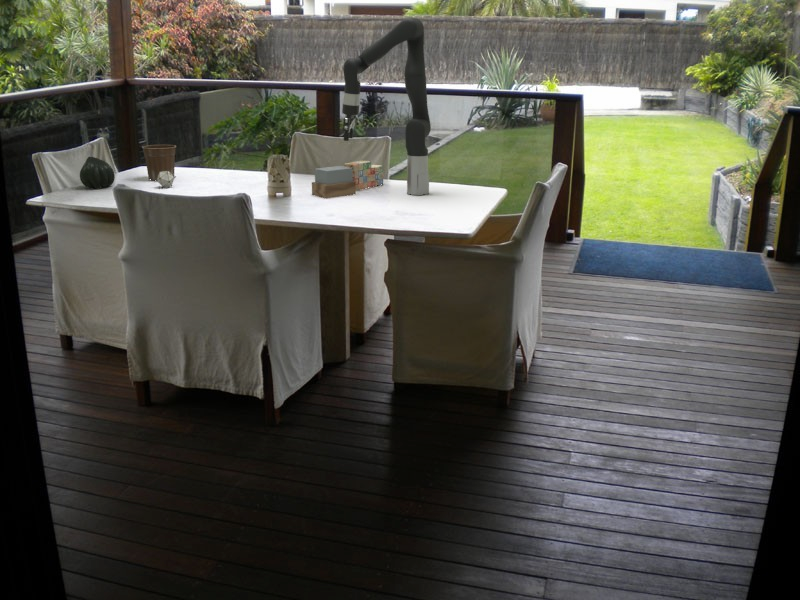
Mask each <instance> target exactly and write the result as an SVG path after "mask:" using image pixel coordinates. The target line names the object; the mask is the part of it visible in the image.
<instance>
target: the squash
mask: <svg viewBox="0 0 800 600" xmlns="http://www.w3.org/2000/svg"><path fill="white" fill-rule="evenodd" d="M115 175H116V174H115V172H114V169H113V168H112V166H111V165H110V164H109V163H108V162H106V161H105V160H103V159H100V158H97V157H94V156H88V157H87V158H86V159H85V162H84V164H83V165H82V167H81V169H80V171H79V180H80V182H81V183H82V184H83V186H85V187H86V188H88V187H89V189H91V188H94V189H97V190H98V188H99V189H101V188H103V187H104V188H107V187H109V188H110V186H112V185H113V184H114V182H115Z"/></svg>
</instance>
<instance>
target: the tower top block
mask: <svg viewBox="0 0 800 600" xmlns="http://www.w3.org/2000/svg"><path fill="white" fill-rule="evenodd" d="M314 182H316V183H321V184H325V185H330V184H338V183H346V182H353V174H352V168H349V167H344V165H335V166H328V167H320V168H317V167H316V168H314Z"/></svg>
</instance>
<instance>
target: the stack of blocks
mask: <svg viewBox="0 0 800 600" xmlns="http://www.w3.org/2000/svg"><path fill="white" fill-rule="evenodd" d="M343 164H344V165H343V166H344V167H349V168H352V174H353V181H354V182H356V190H358V191H360V190H359V189H363V190H365V189H364V188H367V189H369V188H368V187H371V188H374V187H373V186H376V187H378V186H377V185H381V184H383V185H384V166H383V165H379V164H372V161H369V160H357V161H352V162H348V163H346V162H345V163H343ZM381 186H382V185H381Z"/></svg>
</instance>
